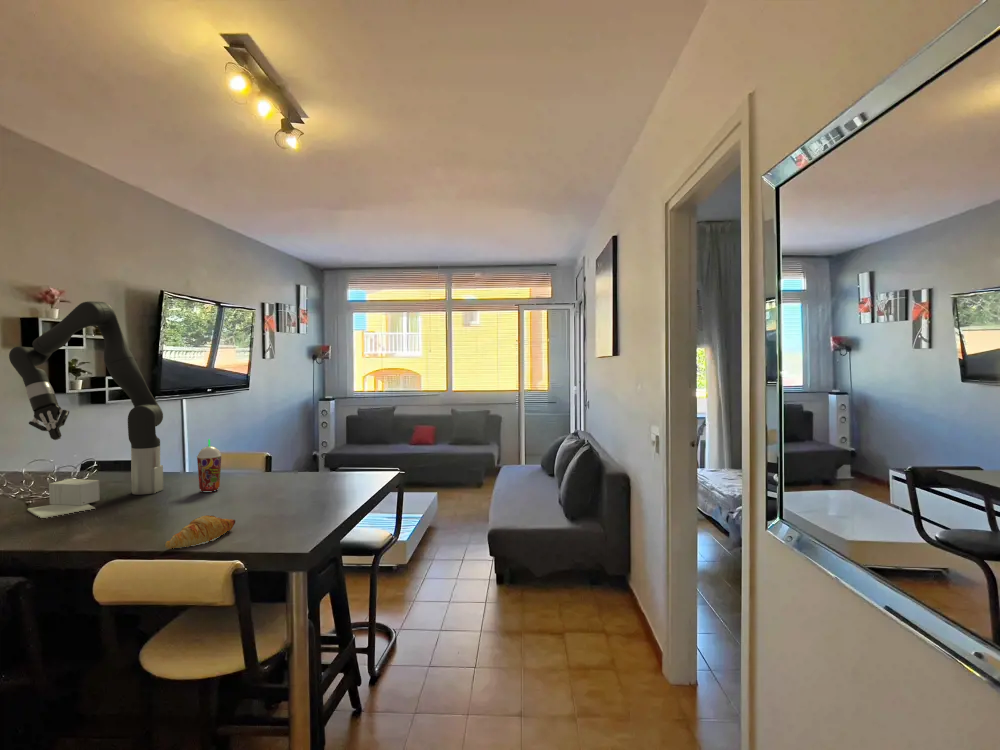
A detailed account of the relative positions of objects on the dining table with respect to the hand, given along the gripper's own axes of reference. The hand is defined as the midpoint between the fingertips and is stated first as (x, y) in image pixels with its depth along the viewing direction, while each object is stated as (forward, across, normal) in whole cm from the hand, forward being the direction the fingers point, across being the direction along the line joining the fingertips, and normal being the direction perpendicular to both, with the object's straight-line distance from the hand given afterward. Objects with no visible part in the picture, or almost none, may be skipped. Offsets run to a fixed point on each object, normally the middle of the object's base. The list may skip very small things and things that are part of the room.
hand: (57, 439), depth 198 cm
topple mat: (+28, +3, -19) cm, 34 cm away
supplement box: (+20, 0, -10) cm, 23 cm away
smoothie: (+40, +41, 0) cm, 57 cm away
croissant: (+57, +50, -59) cm, 96 cm away
